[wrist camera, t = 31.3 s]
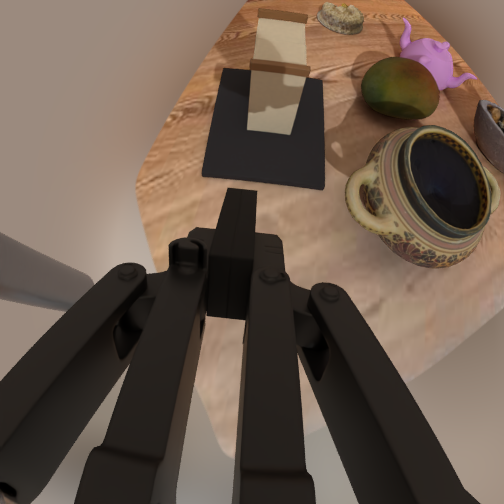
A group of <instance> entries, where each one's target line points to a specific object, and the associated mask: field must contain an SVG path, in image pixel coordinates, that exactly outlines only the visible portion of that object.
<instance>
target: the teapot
mask: <svg viewBox="0 0 504 504" xmlns="http://www.w3.org/2000/svg"><path fill="white" fill-rule="evenodd" d="M403 20H404V23H405V30H404V32H403V34H402V36H401V38H400V47H401V49H402V52H401V54H400V57H402V58H408V59H412V60H415V61H417V62H419V63H421V64H422V65H423V66H425V67H426V68H427V69H428V70H429V71H430V72H431V74H432V75H433V77H434V79H435V81H436V83H437V85H438V88H439V90H443V89H445V88H447V87H448V88H455V87H458V86H459V85H461V84H462V83H463V82H464V81H465V80H467V79H470V78H472V79H477V78H476V77H475V76H474V75H472V74H470V73H464V74H462V75H461V76H460V77H452V75H453V61H452V57H451V54H450V53H449V51H448V49H449V47H450V44H449V43H448V42H443V43H440V42H438V41H435V40H432V39H429V38H423V39H419V40H416V41H414V42H412V43H411V41H410V33H411V25H410V23H409V22H408V21H407V20H406V19H405V18H403Z"/></svg>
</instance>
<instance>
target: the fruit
mask: <svg viewBox="0 0 504 504" xmlns="http://www.w3.org/2000/svg"><path fill="white" fill-rule="evenodd" d="M361 89H362V95H363V97H364V99H365V101H366V103H367V104H368V105H369V106H370V107H371V108H372V109H373V110H375V111H377V112H379V113H381V114H384V115H388V116H392V117H396V118H400V119H410V120H417V119H423V118H426V117H428V116H430V115H431V114H432V113H433V112H434V111H435V110H436V108H437V106H438V103H439V97H440V96H439V88H438V85H437V83H436V81H435V79H434V77H433V75H432V74H431V72H430V71H429V70H428V69H427V68H426V67H425V66H423V65H422V64H421V63H419V62H417V61H415V60H412V59H408V58H402V57H389V58H386V59H383V60H381V61H379V62H377V63H376V64H374V65H373V66H372V67H371V68H370V69H369V70H368V71H367V72H366V74H365V76H364V78H363V80H362V84H361Z"/></svg>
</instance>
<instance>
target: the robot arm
mask: <svg viewBox="0 0 504 504" xmlns="http://www.w3.org/2000/svg"><path fill="white" fill-rule="evenodd" d="M256 204H257V191H254V190H245V189H235V188H228V189H227V192H226V195H225V199H224V202H223V206H222V209H221V212H220V216H219V219H218V223H217V226H216V229H209V228H199V227H196V228H195V229H193V230H192V231H190V232H189V234H188V237H187V238H180V239H176V240H174V241H172V242H171V243H170V244H169V268H168V270H167V271H164V272H160V273H152V274H146V269H145V268H144V267H143V266H142V265H140V264H137V263H123V264H120V265H117V266H116V267H114V268H113V269H111V270H110V271H109V272H108V273H107V274H106V275H105V276H104V277H103V278H102V279H101V280H99V281H98V282H97V283H96V284H95V285H94V286H93V287H92V288H91V289H90V290H89V291H88V292H87V293H86V294H85V295H83V296H82V297H81V298H80V299H79V300H78V301H77V302H76V303H75V304H74V305H73V306H72V307H71V308H70V309H69V310H68V311H67V312H66V313H65V314H64V315H63V316H62V317H61V318H60V319H59V320H58V321H57V322H56V323H55V324H54V325H53V326H52V327H51V328H50V329H49V330H48V331H47V332H46V333H45V334H44V335H43V336H42V337H41V338H40V339H39V340H38V341H37V342H36V343H35V344H34V346H33V347H31V349H30V350H29V351H28V352H27V353H26V354H25V355H24V356H23V357H22V358H21V359H20V360H19V361H18V362H17V364H16V365H15V366H14V367H13V368H12V369H11V370H10V371H9V372H8V373H7V375H6V376H5V377H4V378H3V379H2V380H1V381H0V504H30V503H31V502H32V501H33V500H34V499H35V498H36V497H37V496H38V495H39V494H40V493H41V492H42V490H43V489H44V488H45V486H46V485H47V484H48V482H49V481H50V479H51V477H52V476H53V474H54V473H55V471H56V470H57V468H58V467H59V465H60V464H61V462H62V461H63V459H64V458H65V456H66V455H67V453H68V452H69V450H70V449H71V447H72V446H73V444H74V443H75V441H76V440H77V438H78V437H79V435H80V434H81V432H82V431H83V430H84V428H85V427H86V425H87V424H88V422H89V421H90V419H91V418H92V416H93V415H94V414H95V412H96V411H97V409H98V408H99V406H100V405H101V403H102V402H103V401H104V399H105V397H106V396H107V395H108V393H109V392H110V391H111V389H112V388H113V386H114V385H115V383H116V382H117V381H118V379H119V378H120V376H121V375H122V373H123V372H124V371H125V369H126V368H127V367H128V365H129V364H130V365H129V368H128V371H127V373H126V376H125V379H124V382H123V385H122V387H121V390H120V393H119V396H118V399H117V402H116V405H115V408H114V411H113V414H112V417H111V420H110V423H109V426H108V429H107V432H106V436H105V439H104V441H103V443H102V444H101V445H100V446H97V447H94V448H93V449H92V451H91V452H90V454H89V456H88V459H87V461H86V464H85V467H84V471H83V474H82V477H81V480H80V484H79V488H78V491H77V494H76V498H75V502H74V504H176V488H177V480H178V475H179V469H180V462H181V456H182V450H183V444H184V438H185V432H186V426H187V420H188V415H189V409H190V403H191V398H192V392H193V387H194V382H195V376H196V371H197V366H198V360H199V355H200V350H201V345H202V339H203V334H204V329H205V315H206V311H207V316H212V317H220V318H229V319H239V320H246V321H245V329H244V337H243V356H242V370H241V383H240V397H239V411H238V425H237V439H236V453H235V468H234V482H233V496H232V504H316V500H315V487H314V481H313V479H312V476H311V475H310V474H309V473H308V472H307V469H306V463H305V448H304V431H303V417H302V404H301V391H300V379H299V367H298V356H297V353H298V355H299V358H300V360H301V363H302V365H303V368H304V370H305V373H306V375H307V377H308V380H309V382H310V385H311V387H312V390H313V392H314V395H315V397H316V399H317V402H318V404H319V407H320V409H321V412H322V414H323V417H324V419H325V422H326V424H327V426H328V429H329V431H330V434H331V436H332V439H333V441H334V444H335V446H336V448H337V451H338V454H339V456H340V459H341V461H342V463H343V466H344V468H345V471H346V473H347V476H348V478H349V481H350V483H351V486H352V488H353V491H354V493H355V495H356V498H357V501H358V503H359V504H480V503H479V502H478V501H477V500H476V499H475V498H474V497H473V496H472V495H471V494H469V493H468V492H467V491H466V490H465V489H464V487H463V485H462V484H461V482H460V480H459V478H458V476H457V474H456V472H455V470H454V469H453V467H452V465H451V463H450V461H449V459H448V458H447V456H446V454H445V452H444V450H443V448H442V446H441V445H440V443H439V441H438V439H437V437H436V436H435V434H434V432H433V431H432V429H431V427H430V425H429V423H428V422H427V420H426V418H425V417H424V415H423V414H422V411H421V410H420V408H419V406H418V405H417V403H416V402H415V400H414V398H413V396H412V394H411V393H410V391H409V389H408V388H407V386H406V384H405V383H404V381H403V380H402V378H401V376H400V375H399V373H398V371H397V370H396V368H395V367H394V365H393V363H392V362H391V360H390V359H389V357H388V355H387V354H386V352H385V351H384V349H383V347H382V346H381V344H380V343H379V341H378V340H377V338H376V336H375V335H374V333H373V332H372V330H371V329H370V327H369V326H368V324H367V323H366V321H365V320H364V318H363V316H362V315H361V313H360V312H359V310H358V309H357V307H356V306H355V304H354V303H353V301H352V300H351V298H350V297H349V295H348V294H347V293H346V292H345V291H344V289H343V288H341V287H339V286H337V285H335V284H332V283H323V282H322V283H317V284H315V285H314V286H312V288H311V290H308V289H304V288H301V287H299V286H296V285H295V284H293V283H292V282H291V281H290V278H289V276H288V274H287V273H286V272H285V264H284V254H283V244H282V240H281V239H280V238H279V237H278V236H277V235H274V234H265V233H255V225H256Z"/></svg>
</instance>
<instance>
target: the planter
mask: <svg viewBox="0 0 504 504" xmlns="http://www.w3.org/2000/svg"><path fill="white" fill-rule="evenodd" d="M474 132H475V135H476V137H477V145H478V147H479V148H480V150H481V151H482V153H483V154H484V155H485V157H486V158H487V159H488V160H489V161H490V163H491V164H492V165H493V166H494V167H495V168H497V169H498V170H499V171H501V172H502V173H504V109H503V108H501V107H500V106H498V105H496V104H495V103H491V102H490V101H487V100H480V101H479V103H478V106H477V110H476V114H475V119H474Z"/></svg>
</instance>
